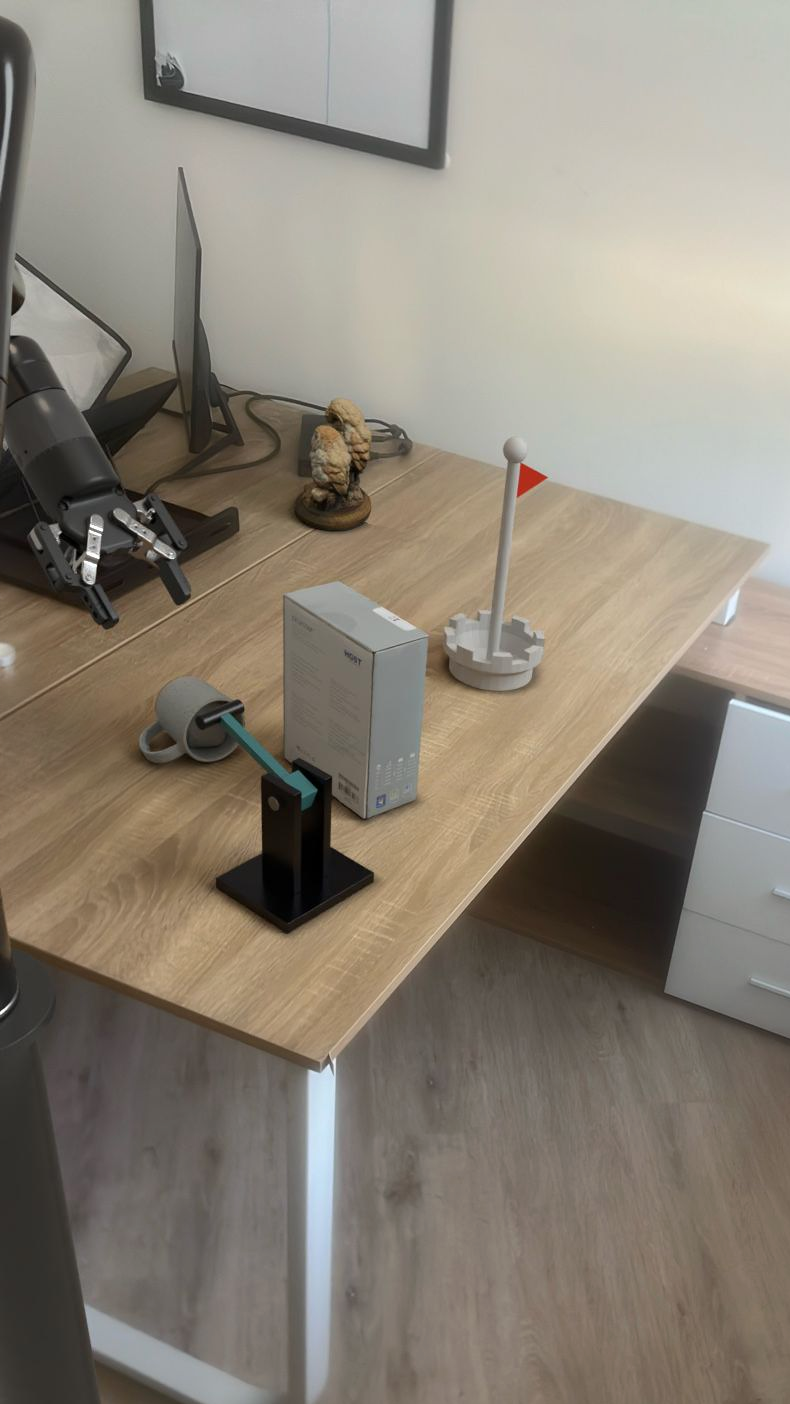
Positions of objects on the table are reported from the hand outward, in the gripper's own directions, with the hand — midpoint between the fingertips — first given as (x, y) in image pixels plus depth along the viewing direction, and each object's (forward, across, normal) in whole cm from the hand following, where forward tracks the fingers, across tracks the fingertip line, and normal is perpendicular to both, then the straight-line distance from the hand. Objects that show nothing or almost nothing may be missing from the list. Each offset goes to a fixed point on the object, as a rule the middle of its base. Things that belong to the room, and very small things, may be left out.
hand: (149, 613), depth 121 cm
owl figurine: (-17, +73, +48) cm, 89 cm away
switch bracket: (+29, 0, +1) cm, 29 cm away
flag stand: (+18, +51, +13) cm, 56 cm away
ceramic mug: (+11, +9, +20) cm, 24 cm away
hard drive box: (+22, +18, +9) cm, 30 cm away
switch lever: (+17, 0, -3) cm, 18 cm away
